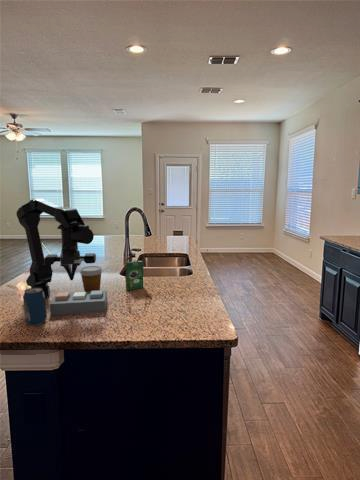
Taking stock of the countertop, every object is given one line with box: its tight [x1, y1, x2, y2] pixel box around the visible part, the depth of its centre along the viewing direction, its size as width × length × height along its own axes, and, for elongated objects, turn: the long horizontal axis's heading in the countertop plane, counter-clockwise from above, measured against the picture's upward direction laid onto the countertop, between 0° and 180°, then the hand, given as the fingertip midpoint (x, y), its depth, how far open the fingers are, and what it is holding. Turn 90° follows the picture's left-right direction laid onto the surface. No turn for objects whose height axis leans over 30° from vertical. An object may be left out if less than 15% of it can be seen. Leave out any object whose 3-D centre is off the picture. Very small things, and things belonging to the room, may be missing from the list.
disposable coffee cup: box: [79, 265, 103, 292], centre depth 139 cm, size 10×10×12 cm
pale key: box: [73, 291, 86, 300], centre depth 125 cm, size 4×4×4 cm
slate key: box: [90, 289, 104, 299], centre depth 126 cm, size 4×4×4 cm
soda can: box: [22, 287, 48, 326], centre depth 111 cm, size 7×7×12 cm
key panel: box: [49, 290, 108, 316], centre depth 125 cm, size 20×12×4 cm, turn 99°
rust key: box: [54, 291, 70, 301], centre depth 124 cm, size 4×4×4 cm
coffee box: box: [125, 260, 145, 291], centre depth 147 cm, size 8×3×13 cm, turn 119°
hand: (71, 280), depth 124 cm, fingers closed
